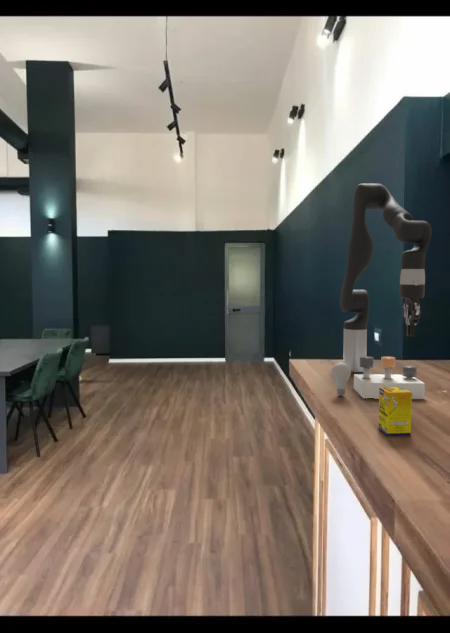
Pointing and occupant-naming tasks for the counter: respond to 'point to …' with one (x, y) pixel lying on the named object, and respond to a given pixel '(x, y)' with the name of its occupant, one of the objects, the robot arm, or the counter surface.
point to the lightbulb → (341, 376)
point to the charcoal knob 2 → (409, 372)
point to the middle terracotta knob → (388, 366)
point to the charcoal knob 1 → (366, 365)
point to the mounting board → (387, 385)
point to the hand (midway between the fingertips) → (410, 336)
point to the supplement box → (395, 411)
